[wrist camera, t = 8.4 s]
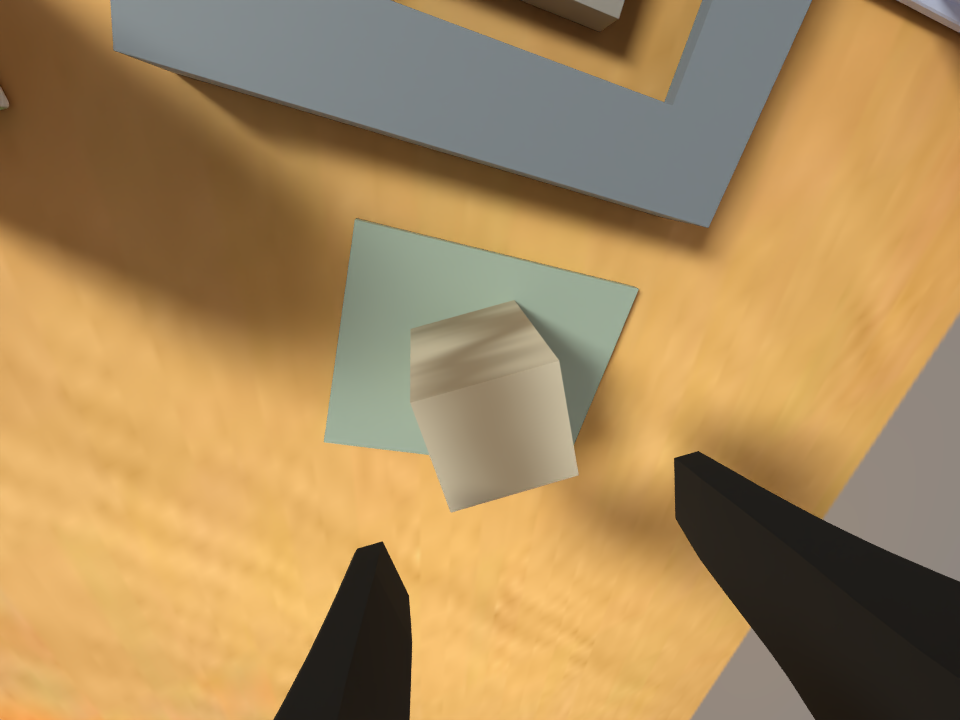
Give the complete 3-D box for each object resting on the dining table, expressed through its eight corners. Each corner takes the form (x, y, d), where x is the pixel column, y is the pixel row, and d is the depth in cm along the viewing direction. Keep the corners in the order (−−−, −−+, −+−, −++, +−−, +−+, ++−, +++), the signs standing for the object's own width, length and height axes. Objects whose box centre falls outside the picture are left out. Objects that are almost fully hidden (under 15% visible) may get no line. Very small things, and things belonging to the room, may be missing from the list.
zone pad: (634, 286, 19) (638, 288, 18) (560, 465, 22) (562, 471, 22) (356, 218, 16) (355, 219, 15) (325, 437, 20) (323, 442, 19)
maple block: (514, 299, 18) (559, 360, 12) (532, 389, 20) (578, 475, 14) (410, 328, 18) (410, 402, 12) (439, 415, 20) (450, 512, 14)
